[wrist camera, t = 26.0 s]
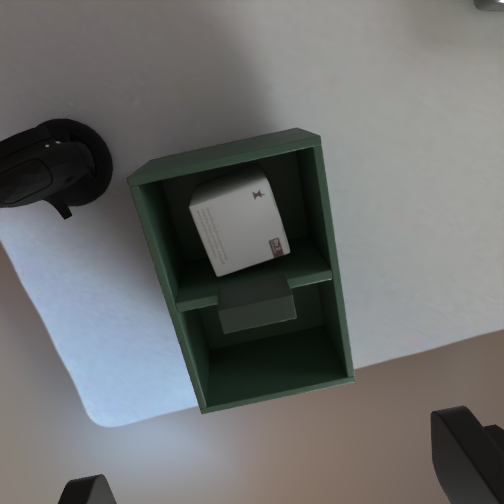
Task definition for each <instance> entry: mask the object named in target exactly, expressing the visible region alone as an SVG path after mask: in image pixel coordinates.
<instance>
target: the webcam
mask: <svg viewBox="0 0 504 504" xmlns="http://www.w3.org/2000/svg"><path fill="white" fill-rule="evenodd" d="M70 137H72V138H75V139H77V140H79V141H81V142H82V143H84V144H85V145H86V146H87V147H88V148H87V147H86V146H85V145H84V144H82V143H74V142H70ZM89 150H90V151H91V153H92V155H93V157H94V161H95V174H94V176H93V177H92V176H91V175H90V174H88V173H87V170H88V169H89V167H88V166H90V165H91V164H92V163H93V159H92V155H91V153H90V151H89ZM112 170H113V167H112V159H111V154H110V152H109V150H108V147H107V145H106V143H105V142H104V141H103V139H102V138H101V137H100V136H99V135H98V134H97V133H96V132H95V131H94V130H93V129H91V128H90V127H88V126H87V125H85V124H82V123H80V122H77V121H74V120H70V119H52V120H49V121H46V122H43V123H41V124H39V125H38V126H37V127H35V128H31V129H28V130H26V131H23V132H21V133H18V134H16V135H13V136H11V137H9V138H7V139H5V140H3V141H1V142H0V208H6V207H7V208H10V207H18V206H23V205H28V204H31V203H34V202H37V201H40V200H45V201H47V202H49V203H50V204H52V205H53V206H54V207H55V208H56V209H57V211H58V212H59V213H60V215H61V216H62V217H63V218H64V220H65V219H67V218H69V217H71V216H72V213H71V211H70V210H69V208H68V206H81V205H86V204H88V203H90V202H93V201H94V200H96V199H97V198H98V197H100V196H101V195H102V194H103V193H104V192H105V190H106V189H107V187H108V185H109V183H110V181H111V176H112Z"/></svg>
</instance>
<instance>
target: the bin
mask: <svg viewBox="0 0 504 504" xmlns="http://www.w3.org/2000/svg"><path fill="white" fill-rule="evenodd" d="M254 164H259V166H260V167H261V169H262V171H263V173H264V174H265V176H266V178H267V180H268V182H269V185H270V188H271V191H272V194H273V197H274V200H275V203H276V206H277V209H278V212H279V215H280V218H281V221H282V224H283V228H284V231H285V234H286V238H287V241H288V244H289V248H290V253H288V254H285V255H282V256H279V257H276V258H273V259H270V260H267V261H264V262H261V263H258V264H255V265H252V266H249V267H246V268H244V269H241V270H238V271H235V272H232V273H229V274H226V275H223V276H219V277H217V276H216V273H215V271H214V269H213V267H212V264H211V262H210V259H209V257H208V255H207V252H206V250H205V247H204V245H203V242H202V240H201V237H200V235H199V232H198V230H197V227H196V225H195V222H194V220H193V217H192V214H191V212H190V209H189V205H190V202H191V198H192V194H193V190H194V187H195V186H197V185H200V184H203V183H206V182H208V181H211V180H214V179H217V178H219V177H222V176H225V175H227V174H230V173H233V172H236V171H238V170H241V169H244V168H246V167H249V166H252V165H254ZM127 181H128V184H129V186H130V190H131V193H132V196H133V199H134V202H135V206H136V209H137V212H138V215H139V218H140V221H141V224H142V228H143V231H144V234H145V237H146V240H147V243H148V247H149V250H150V253H151V256H152V259H153V262H154V265H155V269H156V272H157V275H158V278H159V281H160V284H161V288H162V291H163V294H164V297H165V300H166V303H167V306H168V310H169V313H170V316H171V319H172V322H173V325H174V329H175V332H176V335H177V338H178V341H179V344H180V347H181V351H182V354H183V357H184V360H185V363H186V366H187V370H188V373H189V376H190V379H191V382H192V385H193V389H194V392H195V395H196V398H197V401H198V404H199V407H200V410H201V413H202V414H206V413H210V412H215V411H220V410H224V409H229V408H234V407H239V406H243V405H248V404H253V403H257V402H262V401H267V400H272V399H276V398H281V397H286V396H290V395H295V394H300V393H305V392H309V391H314V390H319V389H323V388H328V387H333V386H338V385H342V384H347V383H352V382H355V376H354V368H353V361H352V354H351V347H350V340H349V333H348V326H347V319H346V312H345V305H344V298H343V291H342V284H341V277H340V270H339V263H338V256H337V249H336V242H335V235H334V228H333V221H332V214H331V207H330V200H329V193H328V186H327V179H326V172H325V165H324V158H323V151H322V145H321V137H320V135H317V134H314V133H311V132H308V131H305V130H303V129H300V128H293V129H288V130H284V131H279V132H275V133H270V134H266V135H261V136H257V137H252V138H248V139H243V140H239V141H234V142H230V143H225V144H220V145H216V146H211V147H207V148H202V149H198V150H193V151H189V152H184V153H180V154H175V155H171V156H166V157H162V158H157V159H153V160H150V161H148V162H147V163H146V164H145V165H143V166H142V167H141V168H140V169H138V170H137V171H136V172H134V173H133V174H132V175H131V176H129V177H128V178H127Z"/></svg>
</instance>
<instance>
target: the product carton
mask: <svg viewBox="0 0 504 504" xmlns="http://www.w3.org/2000/svg"><path fill="white" fill-rule="evenodd" d="M189 209H190V212H191V214H192V217H193V220H194V222H195V225H196V227H197V230H198V232H199V235H200V237H201V240H202V242H203V245H204V247H205V250H206V252H207V255H208V257H209V259H210V262H211V264H212V267H213V269H214V271H215V273H216V276H217V277H219V276H223V275H226V274H229V273H232V272H235V271H238V270H241V269H244V268H246V267H249V266H252V265H255V264H258V263H261V262H264V261H267V260H270V259H273V258H276V257H279V256H282V255H285V254H288V253H290V248H289V244H288V241H287V238H286V234H285V231H284V228H283V224H282V221H281V218H280V215H279V212H278V209H277V206H276V203H275V200H274V197H273V194H272V191H271V188H270V185H269V182H268V180H267V178H266V176H265V174H264V173H263V171H262V169H261V167H260V166H259V164H254V165H252V166H249V167H246V168H244V169H241V170H238V171H236V172H233V173H230V174H227V175H225V176H222V177H219V178H217V179H214V180H211V181H208V182H206V183H203V184H200V185H197V186H195V187H194V190H193V194H192V198H191V202H190V205H189Z"/></svg>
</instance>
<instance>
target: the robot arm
mask: <svg viewBox="0 0 504 504" xmlns="http://www.w3.org/2000/svg"><path fill="white" fill-rule="evenodd" d="M431 441H432V460H433V465H434V469H435V472H436V475H437V478H438V480H439V483H440V485H441V487H442V489H443V490H444V492H445V494H446V496H447V497H448V499H449V501H450V503H451V504H504V430H503V429H502V428H500V427H498V426H497V425H491V426H485V427H483V426H482V425H481V424H480V422H479V421H478V420H477V419H476V417H475V416H474V415H473V414H472V412H471V411H470V410H469V409H468V408H467V407H465V406H458V407H453V408H448V409H442V410H437V411H433V412H432V413H431ZM58 504H117V503H116V501H115V498H114V496H113V494H112V492H111V489H110V487H109V484H108V482H107V480H106V478H105V476H104V475H102V474H100V475H95V476H90V477H85V478H79V479H75V480H70V481H69V482H68V483H67V484H66V486H65V488H64V490H63V493H62V495H61V497H60V500H59V502H58Z"/></svg>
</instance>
